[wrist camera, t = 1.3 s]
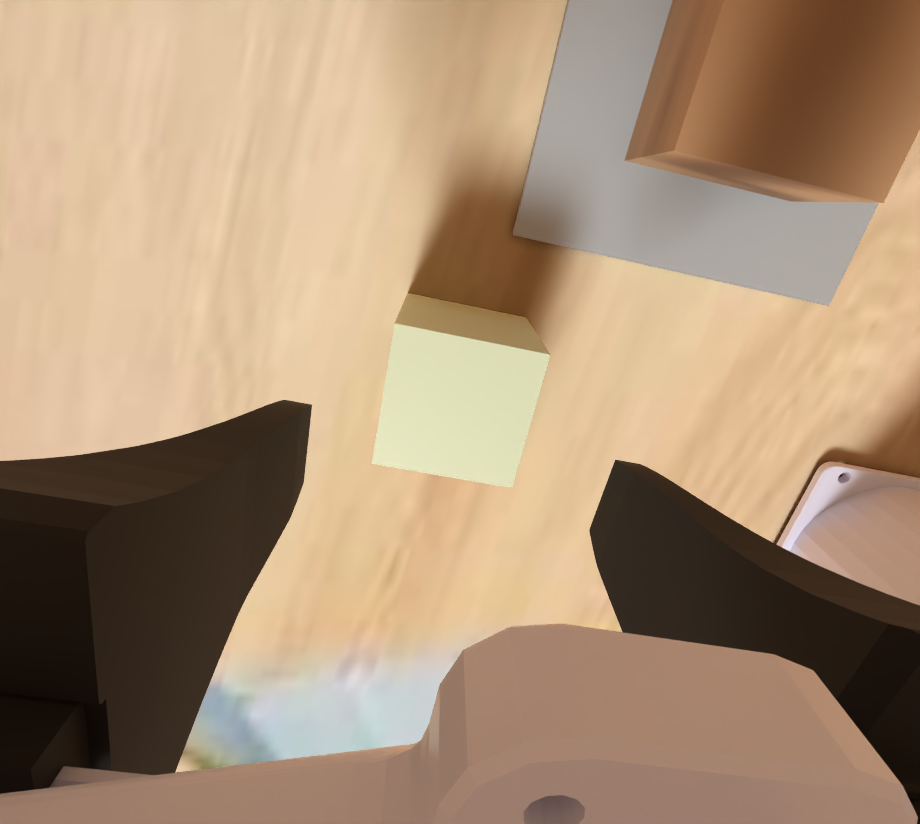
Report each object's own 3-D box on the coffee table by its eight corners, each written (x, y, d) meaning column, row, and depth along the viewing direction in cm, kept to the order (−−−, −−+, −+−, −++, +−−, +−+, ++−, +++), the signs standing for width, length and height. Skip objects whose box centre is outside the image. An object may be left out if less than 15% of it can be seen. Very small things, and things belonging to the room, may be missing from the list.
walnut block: (881, -13, 15) (1021, -80, 11) (791, 201, 17) (883, 202, 14) (693, -69, 15) (776, -159, 11) (624, 160, 17) (674, 150, 13)
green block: (526, 317, 19) (550, 354, 15) (498, 423, 21) (511, 487, 16) (408, 292, 19) (394, 323, 14) (389, 403, 20) (371, 463, 16)
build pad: (1019, -108, 15) (1033, -115, 14) (821, 303, 19) (828, 305, 19) (623, -237, 13) (628, -249, 13) (512, 234, 18) (513, 235, 18)
